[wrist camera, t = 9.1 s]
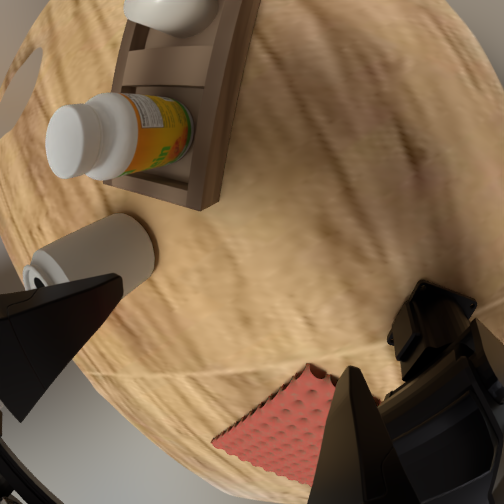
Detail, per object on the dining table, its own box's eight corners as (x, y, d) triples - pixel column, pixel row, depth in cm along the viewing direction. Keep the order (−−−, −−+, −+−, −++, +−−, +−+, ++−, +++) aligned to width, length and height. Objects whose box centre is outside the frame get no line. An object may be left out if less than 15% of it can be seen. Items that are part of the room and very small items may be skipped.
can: (158, 216, 24) (51, 275, 13) (162, 286, 27) (80, 359, 17) (104, 205, 26) (9, 248, 15) (111, 268, 29) (33, 322, 18)
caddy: (268, -27, 12) (255, -46, 10) (218, 201, 21) (200, 211, 19) (163, -17, 14) (144, -27, 12) (125, 177, 23) (102, 183, 21)
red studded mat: (213, 435, 39) (209, 444, 37) (309, 357, 25) (305, 371, 24) (338, 485, 37) (336, 493, 35) (459, 430, 23) (460, 441, 22)
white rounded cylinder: (224, -12, 13) (191, -41, 8) (210, 37, 15) (172, 16, 11) (172, -6, 14) (134, -26, 9) (159, 40, 16) (116, 27, 12)
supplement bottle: (157, 176, 21) (59, 210, 12) (131, 123, 20) (32, 135, 11) (208, 142, 18) (106, 155, 10) (177, 84, 17) (73, 70, 9)
